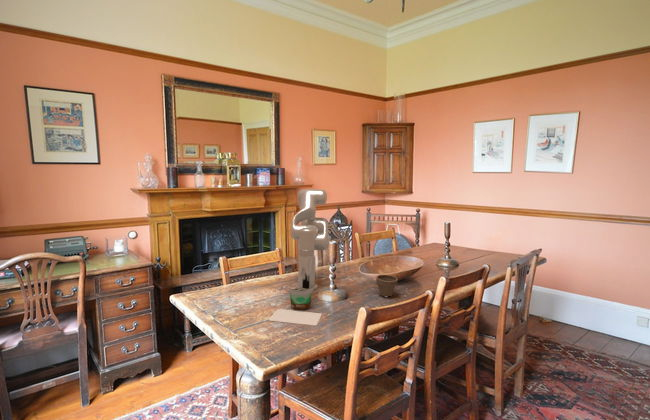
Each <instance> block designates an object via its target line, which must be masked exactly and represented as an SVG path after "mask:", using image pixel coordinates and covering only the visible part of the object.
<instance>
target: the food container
mask: <svg viewBox="0 0 650 420" xmlns="http://www.w3.org/2000/svg"><path fill="white" fill-rule="evenodd" d="M313 292H314V290H313V288H298V289H296V288H290V287H289V288H288V293H289V299H290V308H291V309H292V310H294V311H306V310H308V309H310V308H311V299H312V295H313V294H312V293H313Z"/></svg>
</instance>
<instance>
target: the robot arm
mask: <svg viewBox="0 0 650 420" xmlns="http://www.w3.org/2000/svg"><path fill="white" fill-rule="evenodd" d="M327 195H328V194H327V192H326V190H325V189H316V188H314V189H313V188H310V189H309V188H306V189H299V190H298V191H297V194H296V196H297V197H296V198H297V204H298V207H299V211H298V212H296V214H294V215H293V217H292V220H291V222H290V225H291V226H290V238H291V239H293V240H297V249H298V269H297V270H298V271H297V272H298V273H297V274H298V277H297V279H298V282H297V283H296V284H295V287H294V288H295V289H298V288H313V291H315V290H317V289H318V284H317V283H316V256H315V251H326V250H327V249H328V248H329V244H330V243H329V242H330V241H329V224H328V223H329V222H328V220H327V219H326V218H325V217H316V212H317V208H316V207H317V205H319V206H321V205H322V206H323V205H326V204H327V200H328V196H327ZM299 223H300V225H299Z"/></svg>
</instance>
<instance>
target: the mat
mask: <svg viewBox="0 0 650 420" xmlns="http://www.w3.org/2000/svg"><path fill="white" fill-rule="evenodd" d="M322 315H323V313H322V312H321V313H320V312H319V313H318V312H311V311H310V312H309V311H303V310H293V309H283V308H282V309H281V308H276V310H275V311H274V313H273V314H272V315H271V316H270V318H268V322H275V323H276V322H277V323H285V324H292V325H293V324H294V325H303V326H312V327H318V326H317V325H318V323H319V321H320V320H321V317H322Z"/></svg>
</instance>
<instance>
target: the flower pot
mask: <svg viewBox="0 0 650 420" xmlns="http://www.w3.org/2000/svg"><path fill="white" fill-rule="evenodd" d="M375 277H376V283H377V288H378V293H379V296H380V295H382V296H391V297H392V296H393V293H394V291H395V288H396V285H397V284H398V280H399V279H398V278H397V277H396V276H393V275H390V274H378V275H377V276H375ZM382 296H381V297H382Z"/></svg>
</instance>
